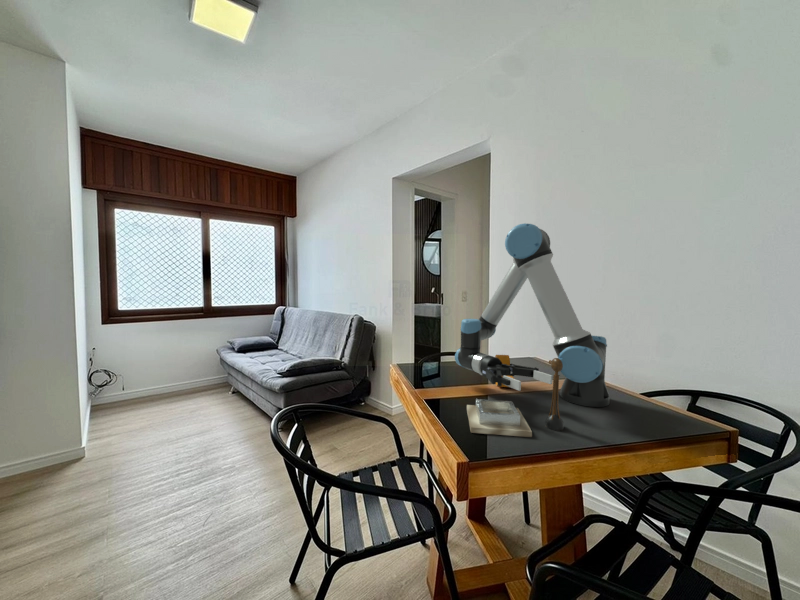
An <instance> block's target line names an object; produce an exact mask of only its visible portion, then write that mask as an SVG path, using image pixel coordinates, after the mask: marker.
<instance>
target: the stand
mask: <svg viewBox="0 0 800 600" xmlns="http://www.w3.org/2000/svg"><path fill="white" fill-rule="evenodd" d="M515 408H516V409H517V411H518V413H519V415H520V427H517V426H503V425H489V424H479V420H478V416H477V412H476V404H466V413H467V414H466V415H467V418H468V425H469V430H470V433H471V434H472V433H473V434H484V435H496V436H497V435H501V436H510V437H511V436H514V437H523V438H524V437H525V438H532V437H533V431H532V430H531V427H530V425H529V423H528V422H527V420H526V419H525V417H524V415H523V414H522V412H521V410H520V409H519V407H515ZM483 411H484V410H483ZM484 412H492V413H507V414H509V412H500V411H484Z"/></svg>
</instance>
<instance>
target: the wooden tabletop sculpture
mask: <svg viewBox="0 0 800 600" xmlns="http://www.w3.org/2000/svg"><path fill="white" fill-rule="evenodd" d="M549 364H550V366H551V369H552V370H553V372H554V374H553V375H552V397H551V405H550V411H549V413H548V416H547V418H546V419H545V423H544V426H545V427H546V428H547V429H549V430H552V431H559V432H560V431H563V430H564V421H563V419H562V418H561V415H560V408H559V385H560V376H561V375H559V373H561V370H562V368H563V364H562V361H561V360H560V359H559V358H558V357H554V358H552V360H551V359H550V360H549V361H548V365H549Z"/></svg>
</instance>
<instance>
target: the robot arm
mask: <svg viewBox="0 0 800 600" xmlns="http://www.w3.org/2000/svg"><path fill="white" fill-rule="evenodd" d="M504 247H505V250H506V251H507V253H508V254H509V256H510V257H512V260H513V263H512V264H511V266H510V267H509V269H508V271H507V272H506V273H505V275H504V277H503V279H502V281H501V282H500V284H499V286H497V288H496V291H494V294H493V295H492V297H491V299H490V300H489V302H488V304H487V305H486V306H485V308H484V310H483V312H482V314H481V315H480V317H479V318H464V319H462V320H461V323H460V324H461V325H460V326H461V327H460V347H459V348H458V349H457V350H456V351H455V354H454V361H455V363H456V364H457V366H458V365H459V366H460V367H462V368H464V369H466V370H469V371H472V372H475V373H477V374H479V375H480V376H483V377H485V378H486V379H487V380H488V381H489V382H490V383H491V384H492V385H496V382H497V383H498V386H497V387H499V386H502V384H503V385H506V386H508V387H507V388H511V389H514V390H516V391H519V392H521V390H522V389H521V388H522V381H520V380H518V379H515V378H514V379H513V378H510V377H508V376H513V377H515V376H519V377H527V378H532V379H534V380H537V381H540V382H542V383H545V384H549V385H553V375H552V374H549V373H545V372H543V371H540V369H539V368H537V366H536V367H531V366H525V365H517V364H513V363H510V365H507V364H502V362H501V360H500V359H499V358H496V357H495V356H492V355H490V354H487V353H482V352H481V343H482V341H484V340H487V339H490V338H492V337H493V336H494V335H495V333H496V330H497V326H498V325H499V323H500V322H501V321H502V319H503V317H504V316H505V314H506V312H507V311H508V309H509V308H510V307H511V304H512V303H513V301H514V299H515V298H516V296H517V295H518V293H519V292H520V291H521V289H522V287H523V285H524V284H525V283H526V281H527V280H528V281H529V283H530V285H531V288H532V290H533V293H534V294H535V297H536V299H537V301H538V303H539V306H540V308H541V311H542V313H543V314H544V317H545V319H546V322H547V324H548V326H549V328H550V330H551V333H552V334H553V337H554V340H553V342H552V347H553V349H554V351H555V354H556V356H557V358H559V359H560V360H561V361H562V364H563V368H562V370H561V371H560V373H561V374H562V375H563V376H564V377H565V378H564V380H563V382H562V384H561V387H560V394H559V396H560V397H561V398H562V399H563V400H565V401H566V402H569V403H572V404H575V405H578V406H584V407H591V408H592V407H593V408H603V407H607V406H609V405H610V398H611V397H610V394H609V391H608V387H607V383H606V381H605V377H606V376H605V374H606V359H607V358H606V356H607V347H608V344H607V338H606V337H604V336H602V335H601V336H599V335H592V334H591V332H590V331H587V330H586V329H583V327H582V325H581V322H580V321H579V318H578V317H577V314H576V312H575V310H574V308H573V306H572V304H571V301H570V300H569V298H568V295H567V292H566V291H565V288H564V287H563V284H562V282H561V280H560V278H559V276H558V274H557V271H556V269H555V267H554V266H553V263H552V259H553V255H554V253H553V251H552V249H551V238H550V236H549V235H548V233H547V232H546V231H545V230H543V229H542V228H540V227H539V226H537V225H536V224H533V223H526V222H525V223H520V224H517V225H515V226H513V227H512V228H511V229H510V230H509V231H508V233H507V235H506V237H505V241H504ZM502 376H503V378H502Z"/></svg>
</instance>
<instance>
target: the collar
mask: <svg viewBox="0 0 800 600" xmlns="http://www.w3.org/2000/svg"><path fill="white" fill-rule="evenodd" d="M475 405H476V412H477V416H478V420H479V424H489V425H503V426H517V427H520V415H519V413H518V411H517V409H516V408H517V407H516V406H515V404H514V402H513V401H512V400H500V399H498V400H496V399H481V398H479V399H478V398H476V399H475ZM483 410H484V411H500V412H509V414H507V413H492V412H484V411H483Z"/></svg>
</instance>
